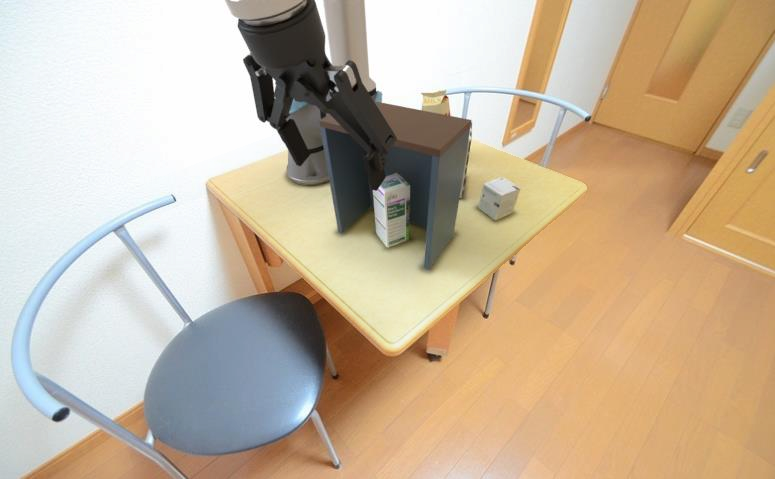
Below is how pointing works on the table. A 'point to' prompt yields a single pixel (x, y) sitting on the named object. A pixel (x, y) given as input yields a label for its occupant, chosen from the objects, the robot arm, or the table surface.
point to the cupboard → (403, 170)
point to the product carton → (498, 198)
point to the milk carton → (436, 103)
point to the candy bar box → (466, 162)
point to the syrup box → (392, 210)
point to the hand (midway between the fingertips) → (339, 171)
